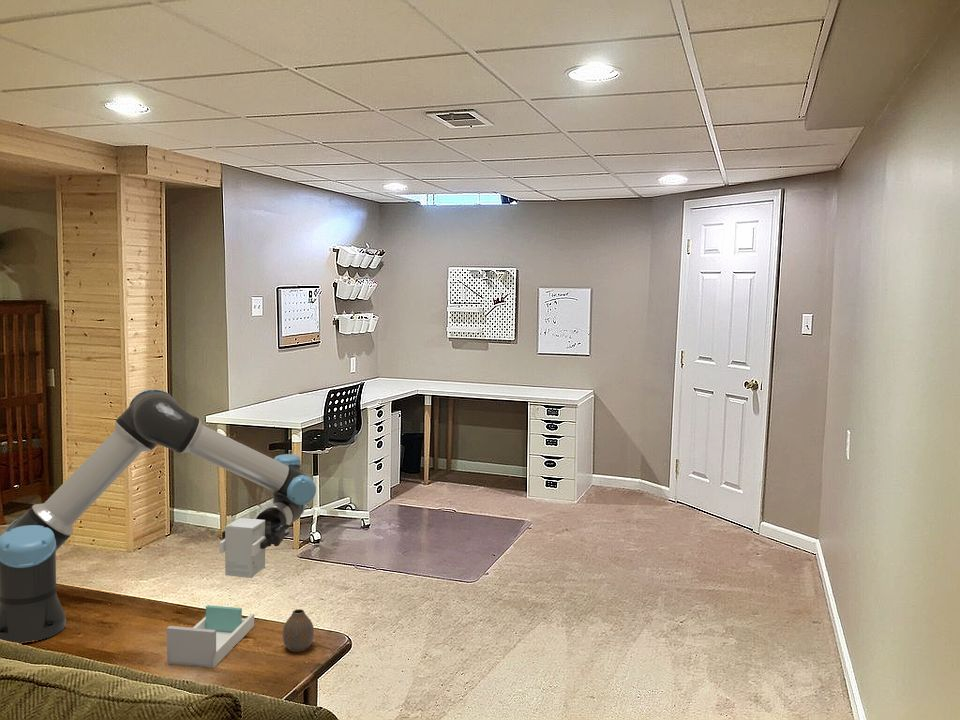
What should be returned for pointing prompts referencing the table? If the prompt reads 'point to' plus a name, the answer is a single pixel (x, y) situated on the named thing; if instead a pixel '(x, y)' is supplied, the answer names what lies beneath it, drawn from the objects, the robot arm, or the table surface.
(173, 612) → the table surface
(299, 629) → the vase
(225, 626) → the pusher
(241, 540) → the supplement box
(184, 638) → the tray
